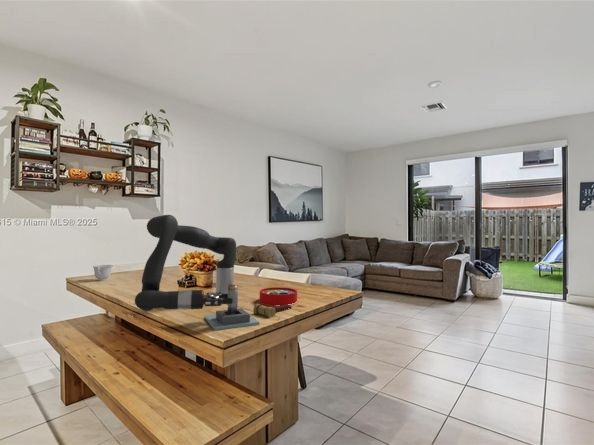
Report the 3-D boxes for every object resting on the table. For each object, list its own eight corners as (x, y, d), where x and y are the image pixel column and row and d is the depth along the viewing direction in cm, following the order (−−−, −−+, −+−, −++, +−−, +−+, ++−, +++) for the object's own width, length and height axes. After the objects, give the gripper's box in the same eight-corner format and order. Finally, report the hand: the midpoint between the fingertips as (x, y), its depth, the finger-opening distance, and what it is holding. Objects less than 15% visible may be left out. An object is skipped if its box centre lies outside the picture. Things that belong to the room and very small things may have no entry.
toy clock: (261, 287, 181) (296, 287, 182) (260, 297, 181) (296, 297, 181) (258, 294, 161) (298, 295, 162) (257, 306, 161) (297, 306, 161)
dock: (204, 317, 138) (204, 308, 138) (244, 313, 146) (245, 304, 146) (214, 330, 122) (214, 319, 122) (259, 324, 130) (259, 314, 130)
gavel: (284, 300, 162) (299, 303, 155) (283, 309, 162) (299, 313, 155) (253, 304, 146) (268, 308, 140) (252, 314, 146) (268, 318, 139)
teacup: (87, 282, 214) (87, 267, 214) (96, 278, 229) (96, 264, 229) (107, 282, 217) (107, 267, 217) (114, 278, 231) (115, 264, 231)
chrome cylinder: (226, 319, 133) (226, 285, 133) (235, 318, 135) (236, 284, 135) (228, 321, 129) (229, 287, 130) (238, 320, 131) (239, 286, 131)
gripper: (189, 293, 122) (233, 292, 125) (192, 286, 136) (232, 286, 139) (188, 313, 122) (232, 312, 125) (192, 304, 135) (231, 303, 139)
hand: (232, 298), depth 132 cm, fingers open, 8 cm apart
